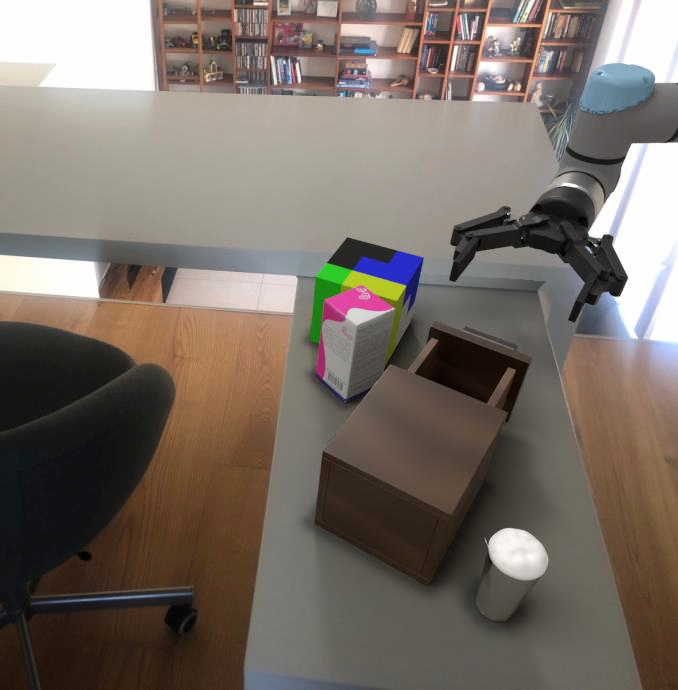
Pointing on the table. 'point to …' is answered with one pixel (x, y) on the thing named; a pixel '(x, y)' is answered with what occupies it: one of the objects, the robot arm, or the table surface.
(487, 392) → the drawer
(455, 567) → the table surface
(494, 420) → the cabinet
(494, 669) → the table surface
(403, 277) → the puzzle toy
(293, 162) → the table surface
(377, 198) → the table surface
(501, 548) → the milkshake
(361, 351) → the supplement box
